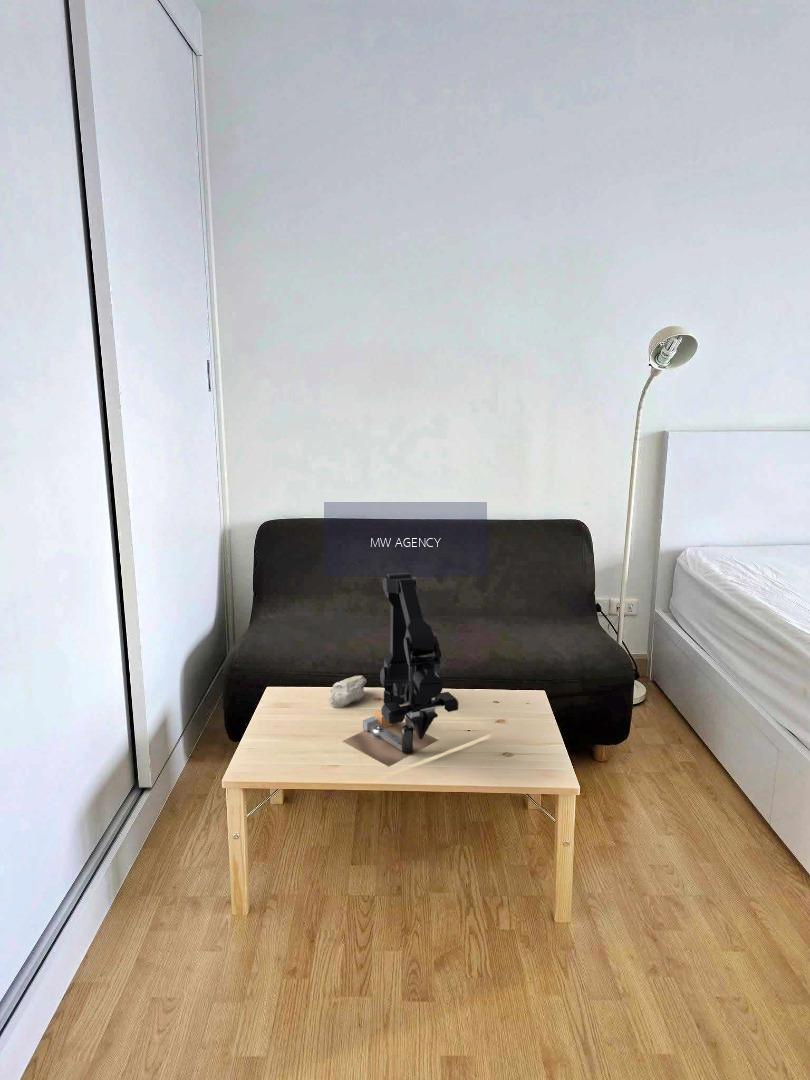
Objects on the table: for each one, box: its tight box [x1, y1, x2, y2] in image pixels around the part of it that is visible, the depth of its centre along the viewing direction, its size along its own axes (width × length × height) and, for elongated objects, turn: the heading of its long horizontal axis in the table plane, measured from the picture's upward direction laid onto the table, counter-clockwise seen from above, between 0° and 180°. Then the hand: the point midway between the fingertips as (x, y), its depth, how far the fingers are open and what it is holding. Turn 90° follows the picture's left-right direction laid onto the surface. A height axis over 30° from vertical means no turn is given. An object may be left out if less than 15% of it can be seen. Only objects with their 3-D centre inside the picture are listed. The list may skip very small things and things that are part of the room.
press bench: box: [342, 716, 439, 768], centre depth 188 cm, size 20×17×4 cm
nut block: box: [373, 709, 393, 727], centre depth 195 cm, size 4×4×4 cm
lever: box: [362, 716, 414, 754], centre depth 187 cm, size 4×17×6 cm, turn 41°
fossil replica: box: [328, 675, 368, 709], centre depth 209 cm, size 12×8×10 cm
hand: (420, 738), depth 183 cm, fingers closed
